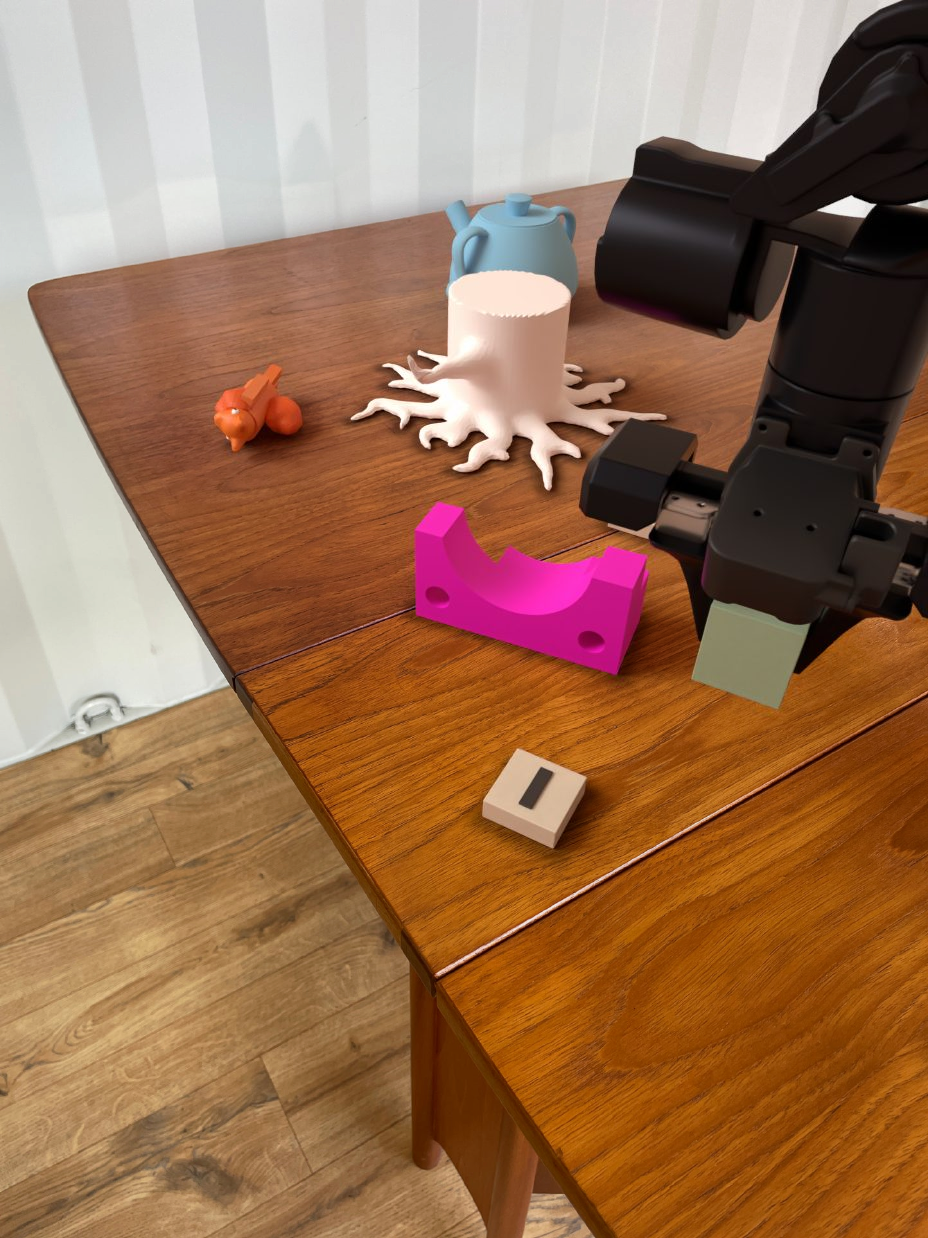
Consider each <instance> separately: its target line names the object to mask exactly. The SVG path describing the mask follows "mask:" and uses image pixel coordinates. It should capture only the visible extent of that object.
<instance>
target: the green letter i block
mask: <svg viewBox="0 0 928 1238" xmlns="http://www.w3.org/2000/svg"><path fill="white" fill-rule="evenodd" d="M810 624H811V623H809V624H805V625H793V624H789V623H785V622H782V621H779V620H778V619H777V618H776V617H775V616H772V615H769V614H766V613H763V612H760V611H757V610H753V609H750V608H747V607H744V606H741V605H738V604H725V603H722V602H719V601H717V600H714V601H713V603H712V605H711V608H710V612H709V615H708V619H707V623H706V626H705V630H704V634H703V637H702V641H701V642H700V645H699V649H698V653H697V656H696V660H695V663H694V667H693V671H692V676H691V681H694V682H697V683H699V684H703V685H706V686H709V687H711V688H714V689H717V690H720V691H723V692H726V693H729V694H732V695H735V696H737V697H740V698H743V699H746V700H749V701H752V702H754V703H757V704H759V705H764V706H766V707H769V708H772V709H775V710H780V709H781V707H782V703H783V700H784V697H785V696H786V693H787V691H788V687H789V684H790V682H791V679H792V676H793V674H794V673H793V671H794V668H795V666H796V663H797V660H798V658H799V655H800V652H801V650H802V647H803V644H804V642H805V639H806V636H807V633H808V630H809V627H810Z"/></svg>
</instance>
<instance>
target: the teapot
mask: <svg viewBox="0 0 928 1238" xmlns="http://www.w3.org/2000/svg"><path fill="white" fill-rule="evenodd" d="M504 200H505V201H504V202H498V203H497V202H496V203H492V204H488V205H486V206H483V207H482V208H481V209H479V210H478V211H477V213H476V214H475V215H474V216H473V218H472V216H471V214H470V212H469V210H468V208H467V206H466V204H465V202H464V200H463V199H459V200H455V201H454V202H452V203H450V204H449V205H447V206H446V208H445V209H444V212H445V214H446V216H447V218H448V220H449V222H450V224H451V226H452V228H453V230H454V233H455V234H456V235H455V237H454V238H453V241H452V245H451V258H452V260H451V263H450V269H449V281H448V284H447V285H446V289H445V294H446V297H447V298H448V297H449V287H450V286H451V284H452V283H453V282H454V281H457V280H458V279H459V278H461V277H462V276H465V275H468V274H477V273H479V272H487V271H495V270H496V271H499V270H502V271H504V270H507V271H509V270H511V271H518V272H521V271H524V272H526V273H529V272H531V273H533V274H538V275H545V276H548V277H551V278H553V279H555V280H556V281H558V282H560V283H562V284H563V285H565V286H566V287H567V288H568V289H569V290H570V293H571V299H572V298H573V297H574V296H575V294H576V292H577V290H578V287H579V269H578V262H577V256H576V252H575V249H574V246H573V242H574V238H575V234H576V230H577V218H576V215H575V213H574V212H573V211H572V210H571V209H570V208H568V207H566V206H562V205H554V206H551V207H550V208H548V207H547V206H543V205H540V204H535V203H532V202H533V197H532V196H531V195H529V194H527V193H524V192H523V193H522V192H513V193H512V192H511V193H508V194H506V195H504ZM561 216H563V221H564V222H563V223H562V221H561V219H560V218H559V217H561Z"/></svg>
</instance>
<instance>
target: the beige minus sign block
mask: <svg viewBox="0 0 928 1238" xmlns="http://www.w3.org/2000/svg"><path fill="white" fill-rule="evenodd" d="M587 780H588V777H587V776H585V775H583V774H580V773H578V772H576V771H574V770H571V769H569V768H566V767H564V766H562V765H559V764H557V763H555V762H553V761H549V760H548V759H545V758H543V757H541V756H538V755H536V754H533V753H531V752H528V751H526V750H524V749H522V748H518V747H517V749H516V750H515V751H514V753H513V754H512V756H511V757H510V759H509V760H508V762H507V764H506V765H505V766H504V768H503V769H502V771H501V773H500V774H499V776H498V777H497V779H496V780H495V782H494V783H493V785H492V786H491V788H490V789H489V791H488V793H486V795H485V797H484V799H483V800H482V812H481V814H482V817H483V818H484V819H487V820H488V821H491V822H493V823H496V824H498V825H500V826H502V827H505V828H507V829H509V830H511V831H513V832H515V833H517V834H520V835H522V836H525V837H526V838H529V839H531V840H533V841H535V842H537V843H539V844H542V845H544V846H546V847H547V848H551V849H553V850H554V848H555V847H556V845H557V843H558V842H559V840H560V837H561V836H562V834H563V832H564V831H565V829H566V827H567V825H568V823H569V822H570V820H571V818H572V817H573V814H574V813H575V811H576V810H577V807H578V805H579V803H580V802H581V800H582V798H583V797H584V795H585V792H586V785H587V782H588V781H587Z"/></svg>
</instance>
